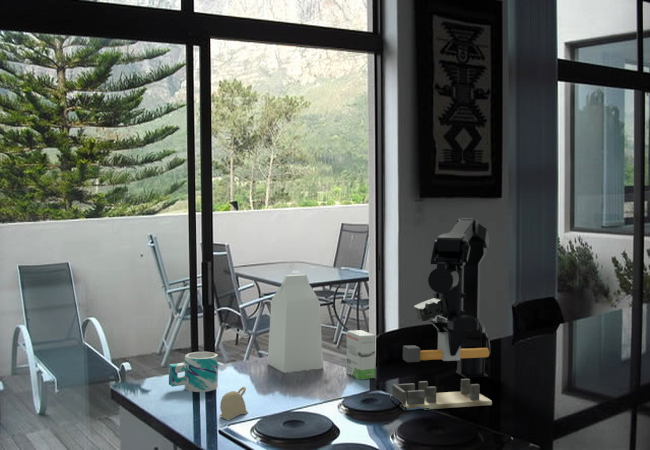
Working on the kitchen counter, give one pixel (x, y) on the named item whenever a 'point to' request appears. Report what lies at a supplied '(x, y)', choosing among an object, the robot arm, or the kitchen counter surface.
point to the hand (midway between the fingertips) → (449, 353)
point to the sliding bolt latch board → (439, 396)
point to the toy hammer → (441, 351)
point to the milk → (295, 327)
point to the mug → (196, 372)
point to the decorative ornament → (233, 404)
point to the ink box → (360, 354)
